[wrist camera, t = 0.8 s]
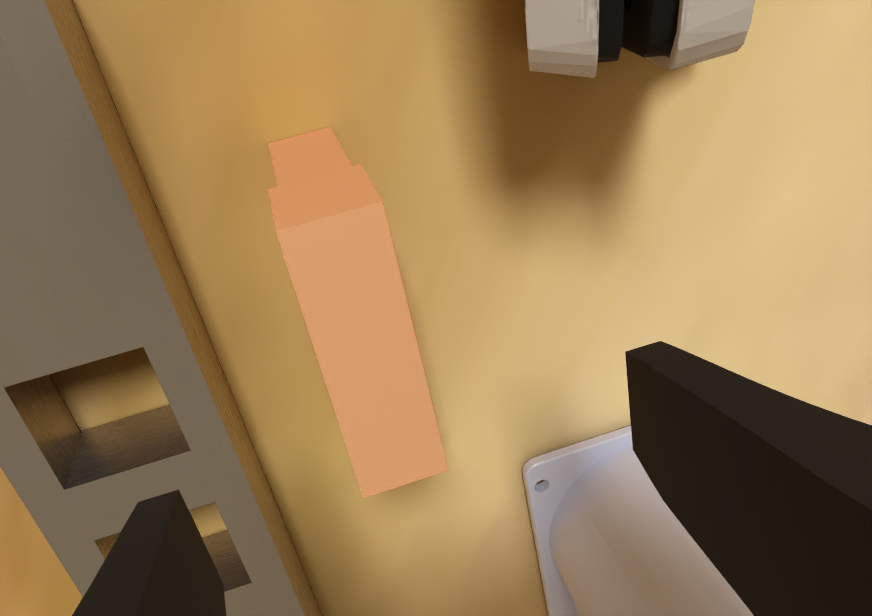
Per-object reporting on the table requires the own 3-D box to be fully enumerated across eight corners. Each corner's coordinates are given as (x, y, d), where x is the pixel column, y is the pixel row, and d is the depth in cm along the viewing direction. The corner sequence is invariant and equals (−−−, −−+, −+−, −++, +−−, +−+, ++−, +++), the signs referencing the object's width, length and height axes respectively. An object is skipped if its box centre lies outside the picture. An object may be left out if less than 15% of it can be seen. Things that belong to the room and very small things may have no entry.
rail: (342, 666, 28) (352, 729, 26) (203, 716, 27) (201, 785, 25) (59, -31, 16) (34, -23, 14) (-198, 28, 16) (-266, 45, 13)
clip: (395, 342, 22) (448, 470, 17) (329, 362, 22) (363, 498, 17) (338, 124, 19) (382, 201, 14) (260, 145, 19) (275, 231, 14)
